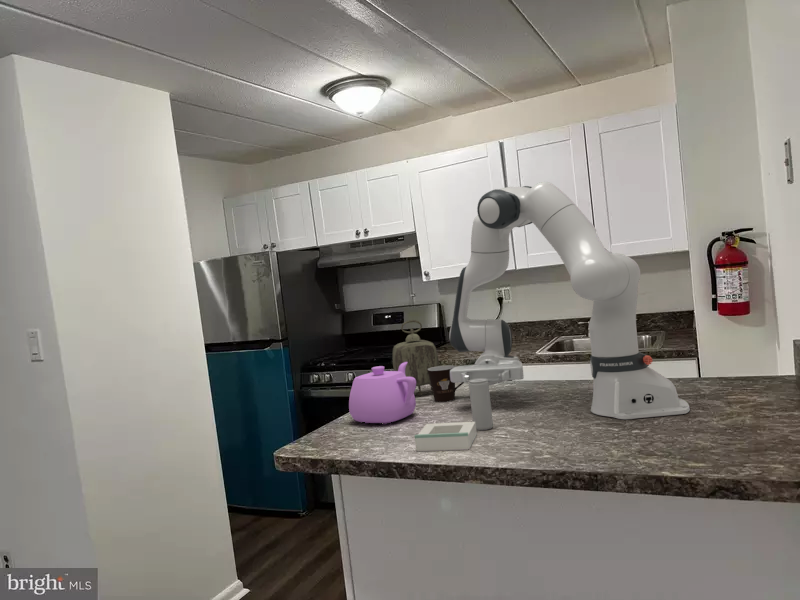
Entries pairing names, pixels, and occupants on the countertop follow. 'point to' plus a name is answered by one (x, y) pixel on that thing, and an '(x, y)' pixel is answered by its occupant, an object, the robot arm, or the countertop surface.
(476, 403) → the beverage can
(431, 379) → the coffee mug
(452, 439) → the socket block
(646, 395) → the robot arm
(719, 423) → the countertop surface
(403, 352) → the tabletop clock
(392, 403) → the teapot
